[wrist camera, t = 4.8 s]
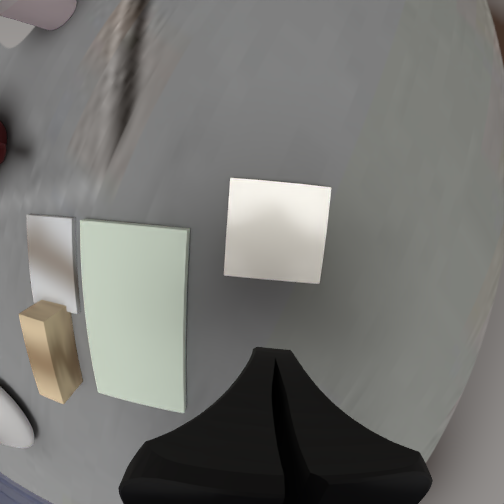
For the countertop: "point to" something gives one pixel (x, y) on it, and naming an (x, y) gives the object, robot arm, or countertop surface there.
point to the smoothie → (39, 12)
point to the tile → (276, 230)
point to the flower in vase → (14, 424)
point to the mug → (2, 142)
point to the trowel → (52, 306)
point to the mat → (136, 310)
